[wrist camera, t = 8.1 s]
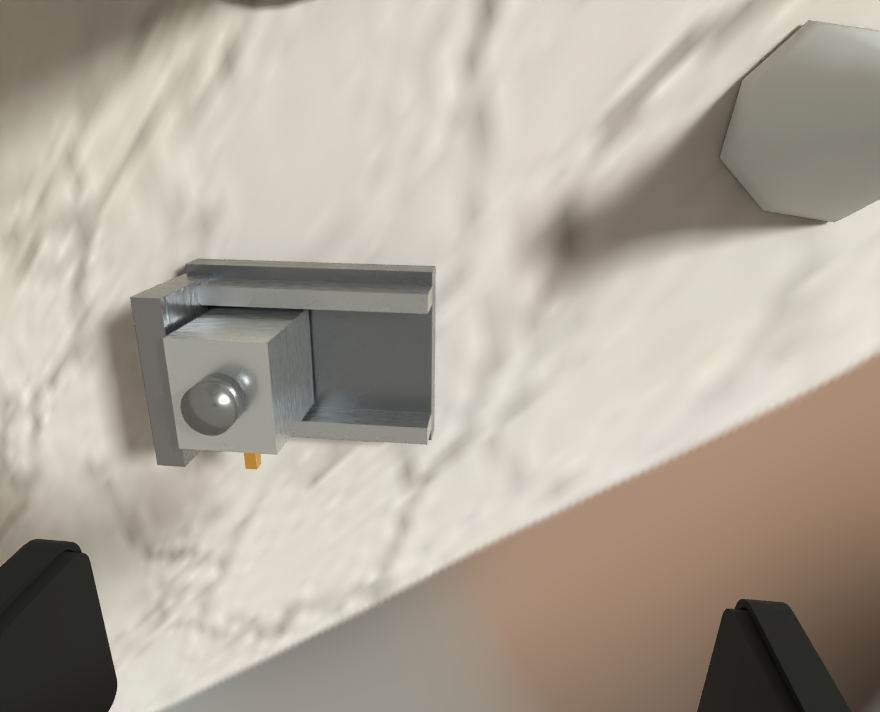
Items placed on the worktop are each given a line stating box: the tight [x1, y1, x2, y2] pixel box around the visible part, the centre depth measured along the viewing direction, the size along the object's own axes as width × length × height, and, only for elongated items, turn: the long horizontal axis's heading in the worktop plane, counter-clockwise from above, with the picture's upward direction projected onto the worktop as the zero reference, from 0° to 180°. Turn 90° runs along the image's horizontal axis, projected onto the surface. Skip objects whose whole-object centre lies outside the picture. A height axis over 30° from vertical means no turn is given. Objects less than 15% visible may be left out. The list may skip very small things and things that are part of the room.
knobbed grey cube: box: [163, 306, 314, 469], centre depth 26 cm, size 4×6×6 cm, turn 0°
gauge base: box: [130, 259, 435, 467], centre depth 27 cm, size 11×8×6 cm
